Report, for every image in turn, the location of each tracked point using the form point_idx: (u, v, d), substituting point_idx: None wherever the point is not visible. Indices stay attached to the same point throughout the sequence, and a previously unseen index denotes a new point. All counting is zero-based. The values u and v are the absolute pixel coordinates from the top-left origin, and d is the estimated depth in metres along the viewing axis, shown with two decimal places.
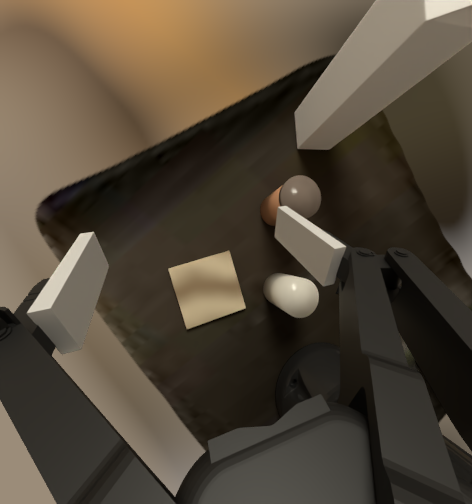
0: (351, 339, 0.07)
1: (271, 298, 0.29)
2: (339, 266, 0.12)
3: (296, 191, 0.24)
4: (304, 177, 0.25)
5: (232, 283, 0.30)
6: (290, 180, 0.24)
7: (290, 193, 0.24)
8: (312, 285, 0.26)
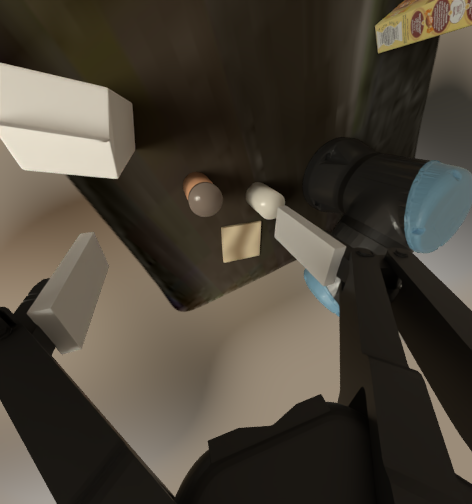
0: (351, 339, 0.07)
1: None
2: (339, 266, 0.12)
3: (201, 204, 0.31)
4: (190, 196, 0.30)
5: (243, 228, 0.44)
6: (192, 208, 0.31)
7: (202, 209, 0.31)
8: (268, 196, 0.35)
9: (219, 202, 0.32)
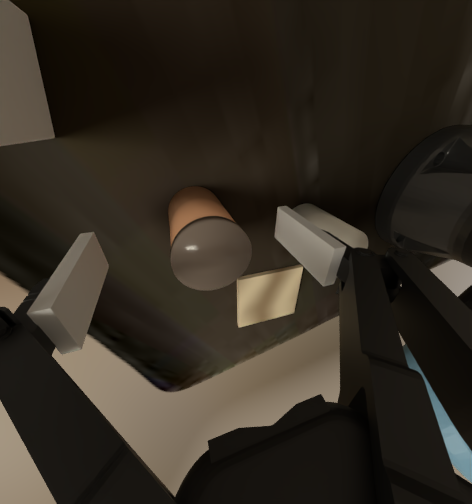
0: (351, 339, 0.07)
1: None
2: (339, 266, 0.12)
3: (202, 267, 0.13)
4: (175, 252, 0.12)
5: (273, 278, 0.26)
6: (180, 277, 0.13)
7: (204, 277, 0.14)
8: (340, 238, 0.17)
9: (243, 259, 0.14)
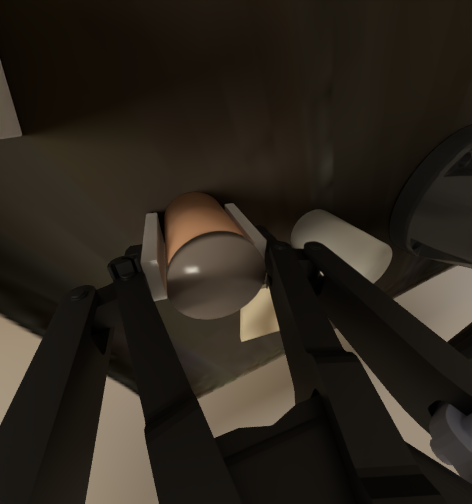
0: (292, 337, 0.08)
1: None
2: None
3: (205, 293, 0.11)
4: (172, 278, 0.09)
5: None
6: (179, 306, 0.10)
7: (208, 304, 0.11)
8: (363, 252, 0.15)
9: (256, 281, 0.11)
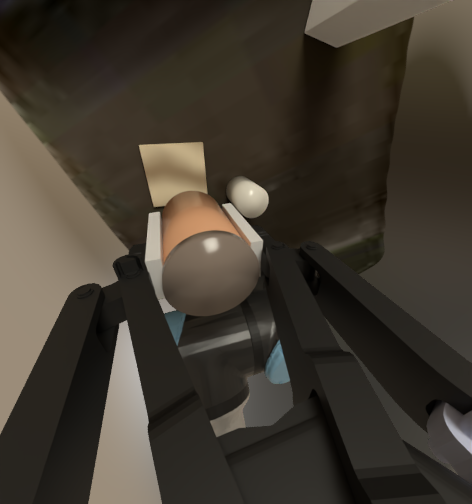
0: (289, 337, 0.08)
1: (231, 197, 0.34)
2: (260, 259, 0.12)
3: (200, 291, 0.11)
4: (167, 276, 0.10)
5: (199, 176, 0.33)
6: (175, 303, 0.11)
7: (203, 302, 0.11)
8: (265, 195, 0.31)
9: (250, 279, 0.12)
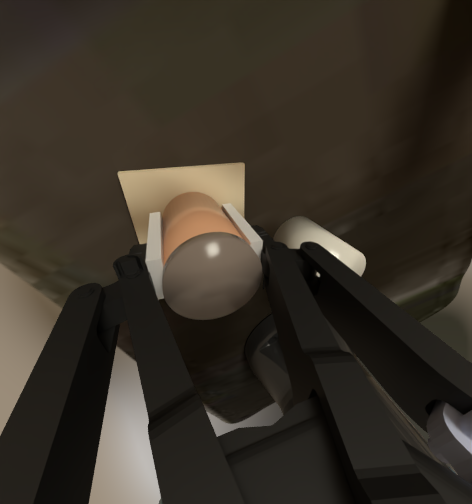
0: (289, 337, 0.08)
1: None
2: (260, 259, 0.12)
3: (202, 294, 0.11)
4: (167, 280, 0.09)
5: None
6: (175, 307, 0.10)
7: (205, 305, 0.11)
8: (362, 262, 0.17)
9: (252, 282, 0.11)
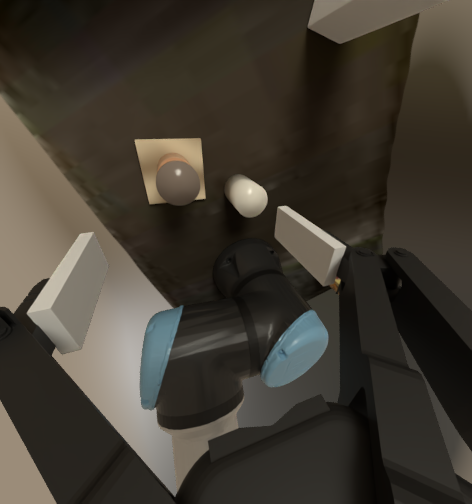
0: (351, 339, 0.07)
1: (229, 196, 0.33)
2: (339, 266, 0.12)
3: (172, 189, 0.25)
4: (157, 178, 0.24)
5: (197, 173, 0.32)
6: (161, 194, 0.25)
7: (174, 196, 0.25)
8: (264, 194, 0.31)
9: (196, 187, 0.25)
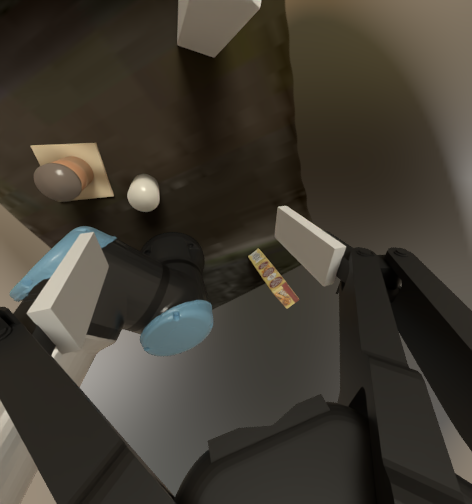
0: (351, 339, 0.07)
1: None
2: (339, 266, 0.12)
3: (53, 187, 0.29)
4: (35, 178, 0.28)
5: (99, 173, 0.36)
6: (43, 192, 0.29)
7: (57, 193, 0.29)
8: (154, 190, 0.35)
9: (76, 185, 0.30)
